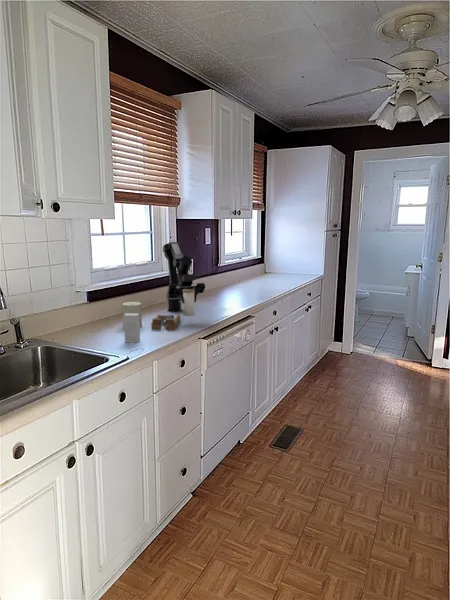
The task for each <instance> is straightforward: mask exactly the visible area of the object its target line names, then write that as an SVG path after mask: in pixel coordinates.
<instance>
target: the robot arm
mask: <svg viewBox="0 0 450 600" xmlns="http://www.w3.org/2000/svg"><path fill="white" fill-rule="evenodd" d="M162 253H163V254H164V257H165V259H167V265H168V266H167V267H168V276H169V284H168V287H167V291H166V294H165V297H166V298H165V299H166V301H167V304H168V305H167V308H168V309H167V312H179V311H183V308H182V304H183V303H184V298H183V289H186V288H192V289H195V292H194V303H196V301H197V296H198V295H199V294H203V293H204V291H205V289H206V284H205V283H204V282H197V283H196V285H193V281H196V280H197V273H196V272H195V273H194V272H192V273H191V274H190V273H189V272H190V270H191V267H192V263H193V259H191V257H188V255H186V254H182V251H181V248H180V246H179V242H177V241H170V242H168V243H165V244H164V245H163V246H162Z"/></svg>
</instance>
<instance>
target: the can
mask: <svg viewBox="0 0 450 600" xmlns="http://www.w3.org/2000/svg"><path fill="white" fill-rule="evenodd" d="M126 313H139V327H140V328H142V327H143V322H142V320H143V319H142V318H143V315H142V303H141V302H139V301H128V302H127V301H126V302H123V303H122V322H123V323H122V324H123V325H122V327H123V328H124V315H125V314H126Z"/></svg>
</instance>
